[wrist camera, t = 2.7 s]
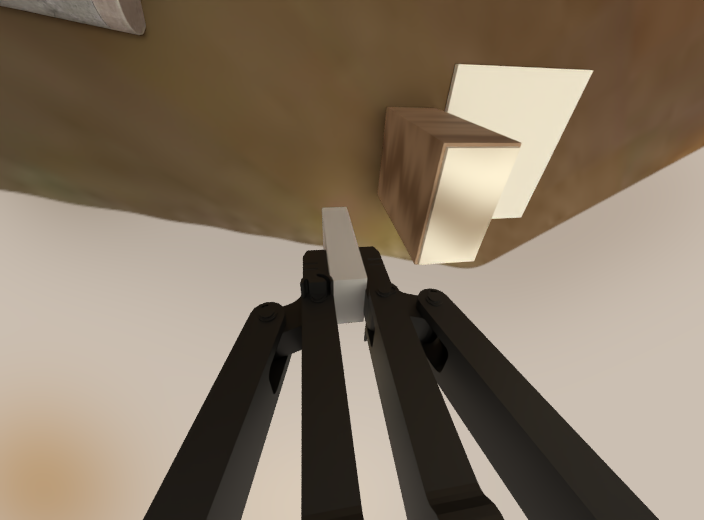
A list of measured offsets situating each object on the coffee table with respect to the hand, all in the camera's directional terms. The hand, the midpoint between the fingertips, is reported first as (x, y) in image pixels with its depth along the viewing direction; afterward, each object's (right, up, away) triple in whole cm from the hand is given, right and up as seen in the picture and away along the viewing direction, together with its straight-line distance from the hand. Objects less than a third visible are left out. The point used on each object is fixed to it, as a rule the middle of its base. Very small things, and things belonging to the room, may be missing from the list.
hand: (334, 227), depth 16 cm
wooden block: (+7, +9, +12) cm, 16 cm away
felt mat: (+17, +10, +13) cm, 24 cm away
